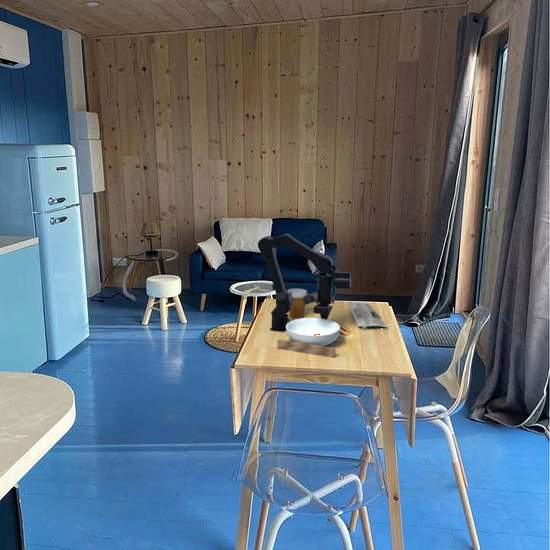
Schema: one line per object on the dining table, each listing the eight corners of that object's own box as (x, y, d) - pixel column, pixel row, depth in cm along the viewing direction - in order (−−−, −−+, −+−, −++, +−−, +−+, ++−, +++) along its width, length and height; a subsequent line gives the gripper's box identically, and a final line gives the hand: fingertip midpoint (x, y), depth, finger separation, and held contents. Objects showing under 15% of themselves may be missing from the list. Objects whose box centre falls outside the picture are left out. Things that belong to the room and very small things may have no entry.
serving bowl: (277, 337, 208) (277, 320, 206) (324, 331, 215) (324, 315, 214) (299, 355, 189) (299, 337, 187) (349, 348, 197) (350, 331, 195)
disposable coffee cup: (310, 315, 236) (311, 290, 233) (300, 321, 228) (301, 294, 225) (292, 312, 241) (293, 287, 238) (282, 317, 233) (282, 291, 230)
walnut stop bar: (277, 348, 196) (277, 340, 195) (279, 346, 197) (279, 339, 197) (333, 357, 187) (333, 349, 186) (335, 355, 189) (335, 348, 188)
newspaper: (387, 331, 218) (388, 323, 217) (358, 331, 217) (358, 323, 216) (369, 307, 252) (370, 300, 251) (344, 307, 251) (344, 300, 251)
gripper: (308, 280, 220) (308, 316, 223) (300, 291, 202) (300, 330, 206) (335, 282, 217) (334, 318, 221) (329, 293, 200) (328, 332, 203)
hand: (323, 324), depth 213 cm, fingers closed
